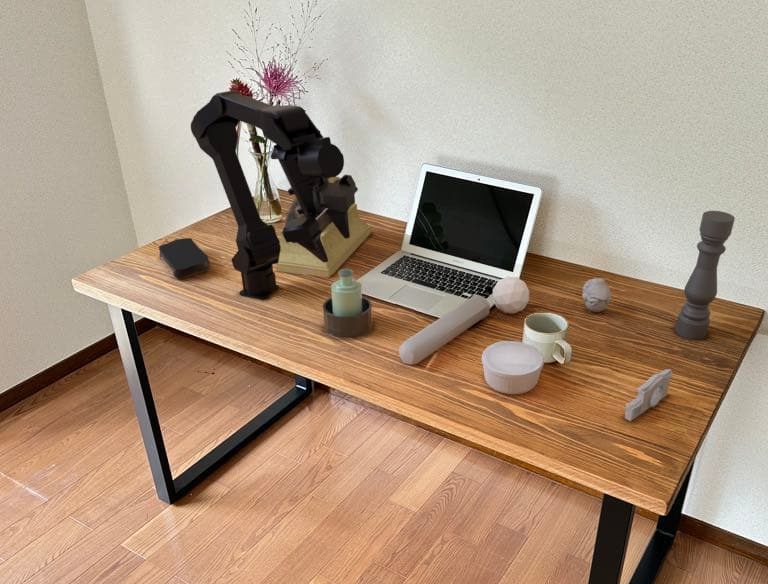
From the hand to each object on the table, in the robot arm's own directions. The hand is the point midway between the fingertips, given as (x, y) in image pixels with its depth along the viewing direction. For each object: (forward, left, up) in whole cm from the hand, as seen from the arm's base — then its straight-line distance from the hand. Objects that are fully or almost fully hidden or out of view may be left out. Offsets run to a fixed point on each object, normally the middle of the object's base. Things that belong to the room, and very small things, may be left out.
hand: (336, 249), depth 144 cm
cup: (+3, -3, -15) cm, 16 cm away
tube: (+23, -1, -16) cm, 28 cm away
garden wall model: (+63, -9, -16) cm, 66 cm away
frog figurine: (+49, +23, -16) cm, 56 cm away
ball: (+32, +16, -16) cm, 39 cm away
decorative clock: (-18, +29, -16) cm, 37 cm away
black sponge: (-45, +9, -16) cm, 48 cm away
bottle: (+3, -3, -15) cm, 16 cm away
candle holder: (+69, +21, -16) cm, 74 cm away
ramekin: (+39, -10, -16) cm, 43 cm away
